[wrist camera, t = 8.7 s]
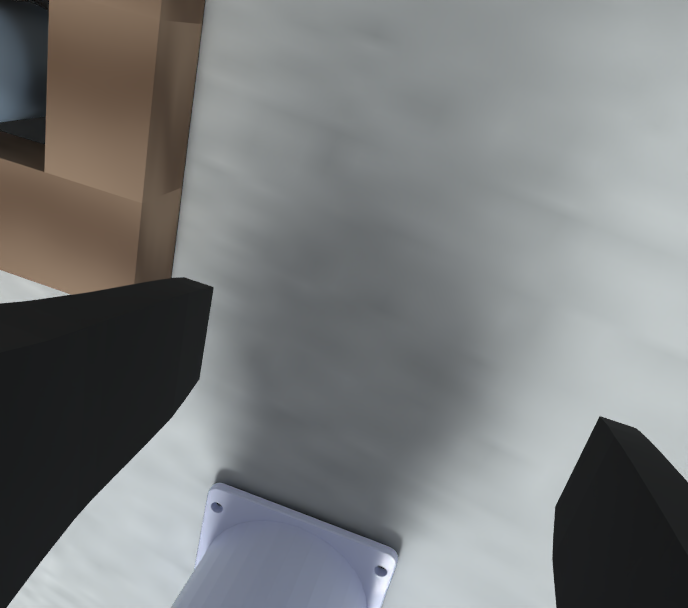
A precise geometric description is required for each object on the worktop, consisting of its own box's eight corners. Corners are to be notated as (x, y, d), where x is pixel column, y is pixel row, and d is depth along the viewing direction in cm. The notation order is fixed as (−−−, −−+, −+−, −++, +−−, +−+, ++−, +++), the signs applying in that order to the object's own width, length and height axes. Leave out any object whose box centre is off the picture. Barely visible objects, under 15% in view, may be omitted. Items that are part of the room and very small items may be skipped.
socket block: (169, 289, 23) (131, 315, 21) (-106, 196, 25) (-169, 211, 22) (220, -125, 17) (176, -152, 15) (-137, -208, 19) (-224, -242, 17)
